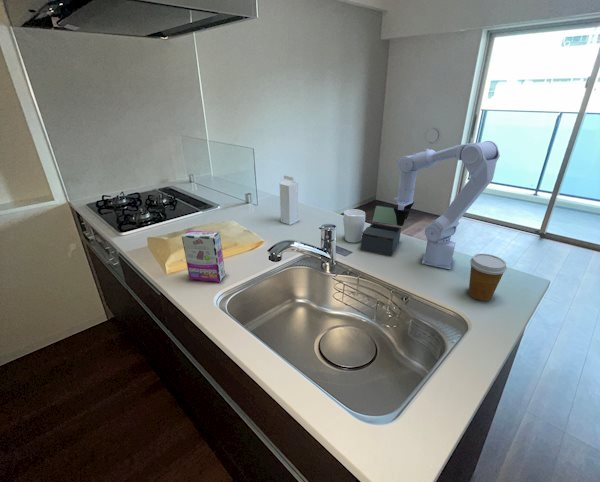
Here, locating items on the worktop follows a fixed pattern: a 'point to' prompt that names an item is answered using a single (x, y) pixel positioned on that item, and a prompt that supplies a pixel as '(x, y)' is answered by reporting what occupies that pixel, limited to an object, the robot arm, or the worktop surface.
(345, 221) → the cup
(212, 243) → the candy bar box
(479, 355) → the worktop surface
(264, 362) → the worktop surface
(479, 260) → the disposable coffee cup
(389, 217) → the bin flap
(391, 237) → the bin
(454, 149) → the robot arm
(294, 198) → the milk
